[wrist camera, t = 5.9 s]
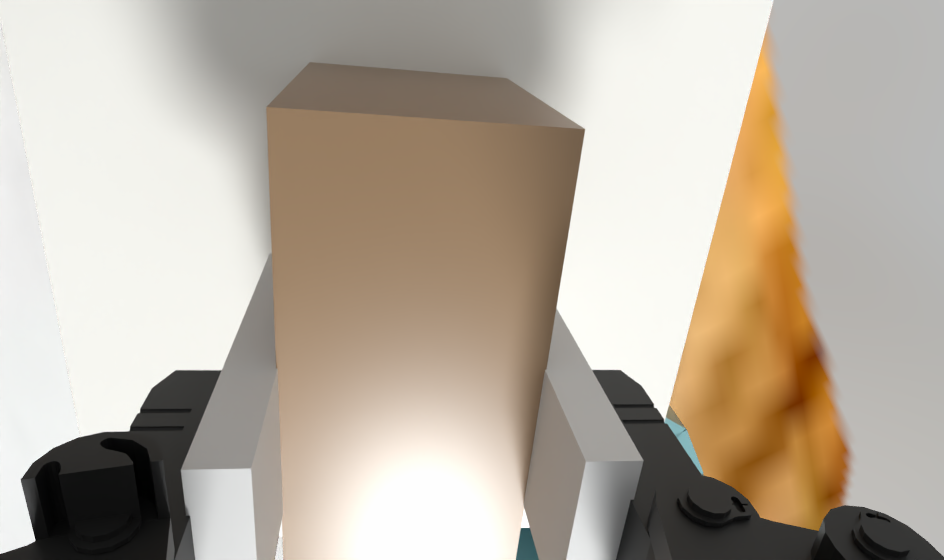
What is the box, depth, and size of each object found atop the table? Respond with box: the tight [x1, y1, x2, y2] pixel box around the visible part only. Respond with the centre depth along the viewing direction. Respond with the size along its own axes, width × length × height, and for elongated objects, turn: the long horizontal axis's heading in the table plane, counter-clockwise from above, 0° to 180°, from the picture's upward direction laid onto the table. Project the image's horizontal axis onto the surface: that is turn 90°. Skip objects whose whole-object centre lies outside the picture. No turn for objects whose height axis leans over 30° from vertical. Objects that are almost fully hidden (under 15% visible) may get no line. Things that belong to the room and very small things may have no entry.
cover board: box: [0, 0, 773, 560], centre depth 13 cm, size 15×15×6 cm
